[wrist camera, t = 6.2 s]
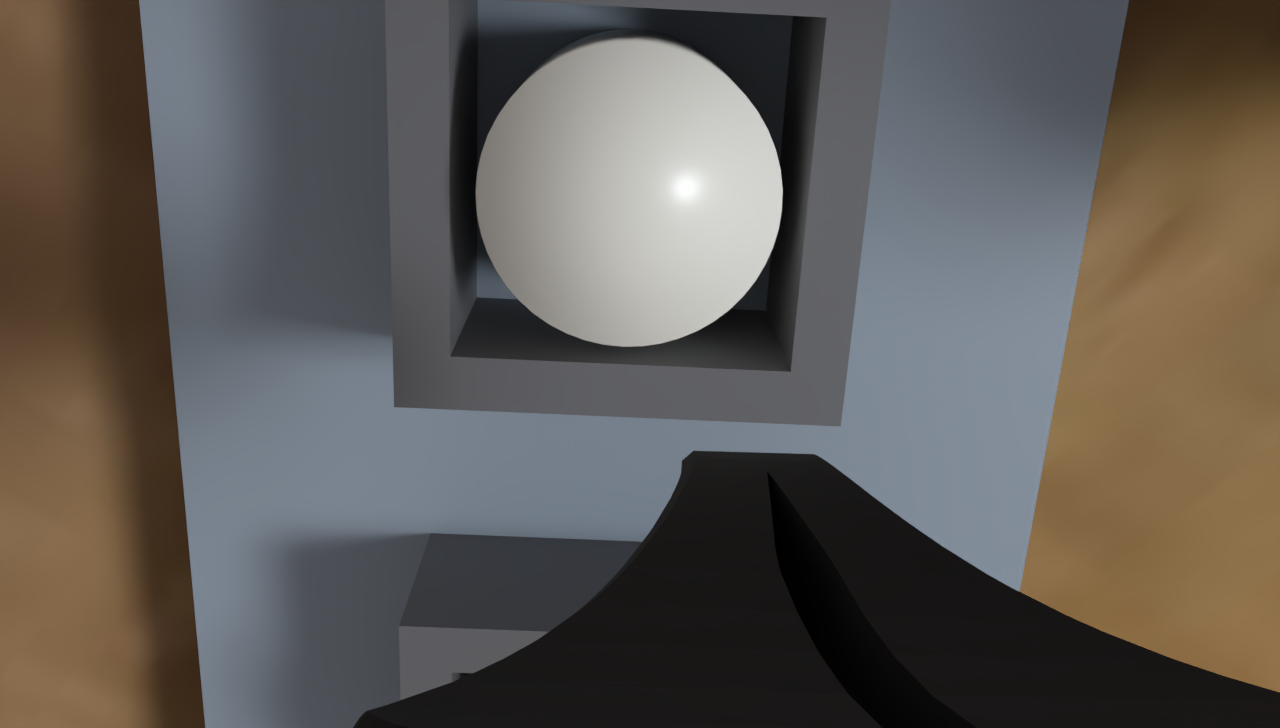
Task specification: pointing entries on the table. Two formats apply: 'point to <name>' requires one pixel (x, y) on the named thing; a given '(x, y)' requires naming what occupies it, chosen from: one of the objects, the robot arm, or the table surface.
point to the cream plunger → (629, 190)
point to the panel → (561, 363)
